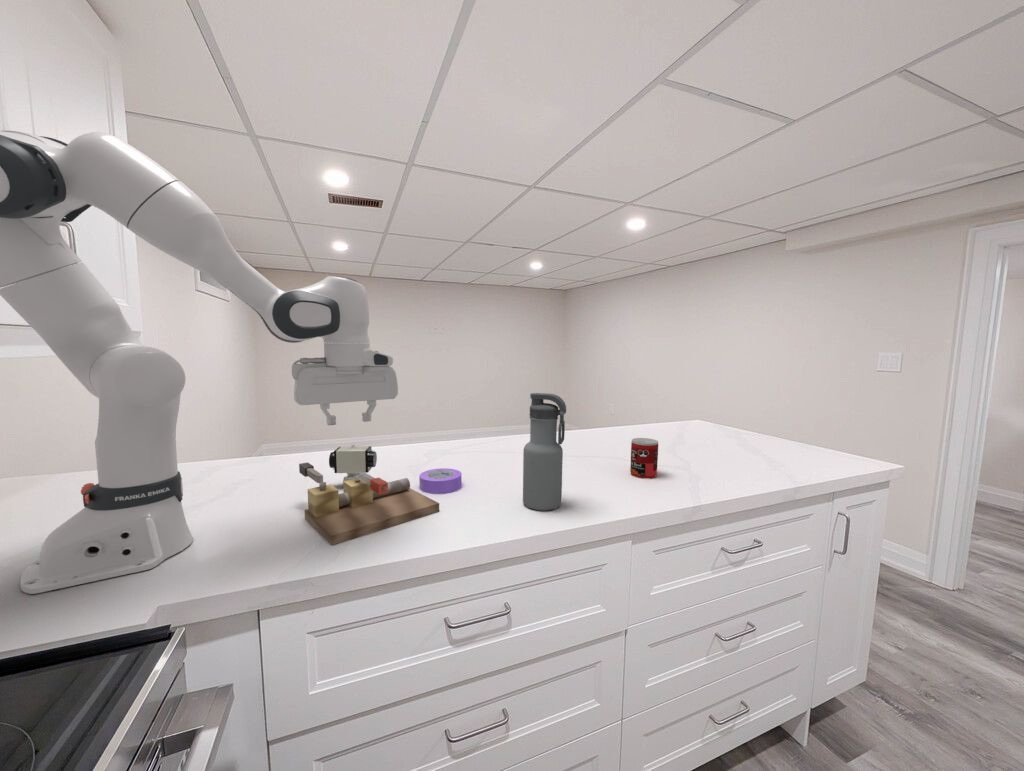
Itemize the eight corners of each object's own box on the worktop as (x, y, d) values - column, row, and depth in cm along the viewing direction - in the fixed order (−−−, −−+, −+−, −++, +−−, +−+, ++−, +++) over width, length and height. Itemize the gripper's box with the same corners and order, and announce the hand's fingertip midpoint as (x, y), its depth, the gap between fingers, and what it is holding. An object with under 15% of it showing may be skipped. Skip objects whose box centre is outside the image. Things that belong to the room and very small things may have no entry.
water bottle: (565, 499, 107) (568, 392, 104) (559, 514, 97) (562, 397, 95) (527, 495, 110) (529, 391, 107) (518, 509, 100) (520, 395, 97)
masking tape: (412, 486, 116) (411, 473, 116) (447, 477, 124) (447, 465, 123) (433, 498, 107) (433, 483, 107) (469, 488, 115) (469, 474, 115)
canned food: (625, 472, 130) (626, 438, 129) (646, 470, 133) (648, 437, 132) (639, 480, 123) (641, 444, 122) (662, 477, 125) (663, 442, 124)
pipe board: (332, 545, 81) (330, 495, 80) (291, 505, 101) (290, 465, 100) (439, 511, 98) (439, 470, 97) (387, 482, 118) (386, 448, 117)
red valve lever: (379, 497, 87) (379, 484, 87) (352, 480, 98) (352, 469, 97) (388, 494, 89) (387, 482, 88) (360, 478, 99) (360, 467, 99)
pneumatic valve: (373, 489, 113) (372, 446, 112) (329, 490, 112) (328, 447, 110) (378, 482, 118) (377, 441, 117) (336, 483, 117) (334, 442, 116)
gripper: (293, 358, 76) (296, 431, 78) (400, 357, 88) (401, 420, 90) (289, 357, 82) (291, 425, 83) (390, 356, 93) (391, 416, 95)
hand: (349, 422), depth 86 cm, fingers open, 6 cm apart
